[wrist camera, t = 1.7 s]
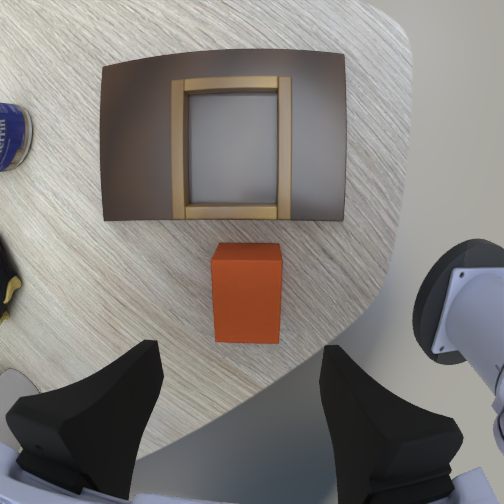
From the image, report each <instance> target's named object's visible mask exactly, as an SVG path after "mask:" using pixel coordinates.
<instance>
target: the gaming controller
mask: <svg viewBox="0 0 504 504" xmlns="http://www.w3.org/2000/svg"><path fill="white" fill-rule="evenodd" d="M21 286H22V285H21V281H20V280H19V279H18V275H17V273H15V272H14V271H13V270H12V269H11V268H10V267H9V265H8V263H7V261H6V259H5V256H4V253H3V249H2V246H1V243H0V324H1V323H2V322H3V320H5V319H8V318H9V315H8V313H7V312H6V308H5V307H6V304H7V302H8V301H9V300H10V299H11V296H12V293H13V291H14V290H16V289H18V288H20V287H21Z"/></svg>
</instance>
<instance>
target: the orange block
mask: <svg viewBox="0 0 504 504" xmlns="http://www.w3.org/2000/svg"><path fill="white" fill-rule="evenodd" d="M282 265H283V261H282V255H281V250H280V245H279V244H275V243H219V245H218V247H217V249H216V251H215V253H214V255H213V257H212V259H211V274H212V294H213V312H214V329H215V341H216V342H226V343H267V344H278V343H279V334H280V314H281V291H282Z"/></svg>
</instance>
